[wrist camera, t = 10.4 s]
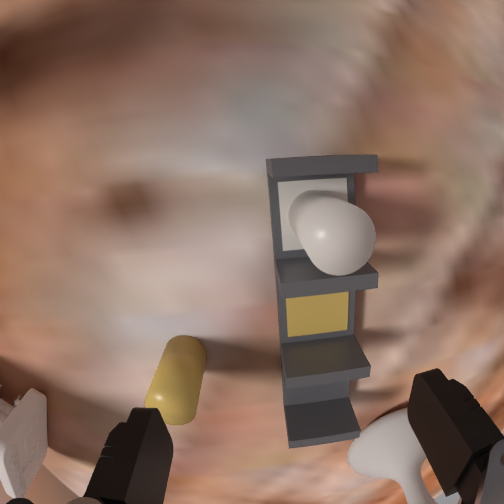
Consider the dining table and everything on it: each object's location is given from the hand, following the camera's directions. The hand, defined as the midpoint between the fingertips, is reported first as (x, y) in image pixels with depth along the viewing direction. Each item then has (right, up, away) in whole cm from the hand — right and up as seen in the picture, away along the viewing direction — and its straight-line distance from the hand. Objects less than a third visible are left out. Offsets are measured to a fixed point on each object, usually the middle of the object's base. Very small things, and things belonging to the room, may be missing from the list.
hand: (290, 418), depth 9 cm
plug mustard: (-7, -4, +18) cm, 19 cm away
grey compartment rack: (+4, +1, +16) cm, 17 cm away
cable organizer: (-31, -14, +21) cm, 40 cm away
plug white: (+3, +8, +13) cm, 16 cm away
